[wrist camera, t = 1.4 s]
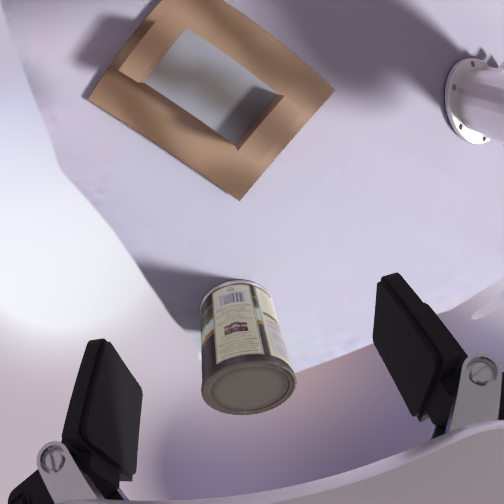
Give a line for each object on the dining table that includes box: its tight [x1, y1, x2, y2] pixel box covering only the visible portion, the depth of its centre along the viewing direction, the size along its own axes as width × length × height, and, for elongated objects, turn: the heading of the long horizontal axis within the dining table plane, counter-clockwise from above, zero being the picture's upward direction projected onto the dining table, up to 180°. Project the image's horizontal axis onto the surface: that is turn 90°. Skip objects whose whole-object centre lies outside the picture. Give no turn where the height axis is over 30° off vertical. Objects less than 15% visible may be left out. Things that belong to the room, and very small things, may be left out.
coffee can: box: [200, 280, 297, 415], centre depth 38 cm, size 10×10×14 cm
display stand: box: [88, 0, 335, 201], centre depth 26 cm, size 16×20×8 cm
